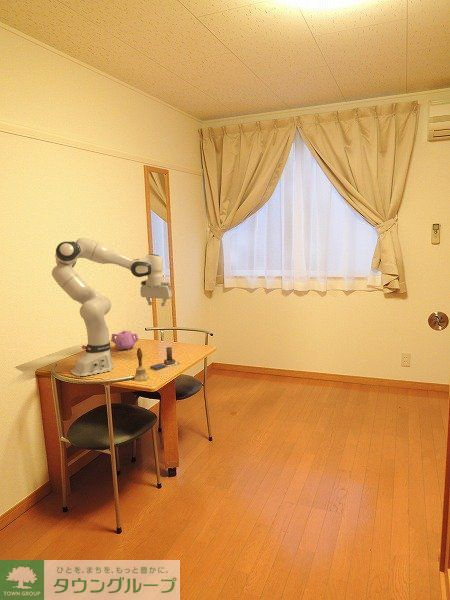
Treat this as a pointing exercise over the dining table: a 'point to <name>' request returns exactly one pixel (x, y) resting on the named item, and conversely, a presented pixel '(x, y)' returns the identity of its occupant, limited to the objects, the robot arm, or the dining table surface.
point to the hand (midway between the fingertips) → (156, 305)
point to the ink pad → (157, 367)
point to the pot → (124, 340)
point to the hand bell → (140, 369)
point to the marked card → (170, 365)
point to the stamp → (169, 357)
